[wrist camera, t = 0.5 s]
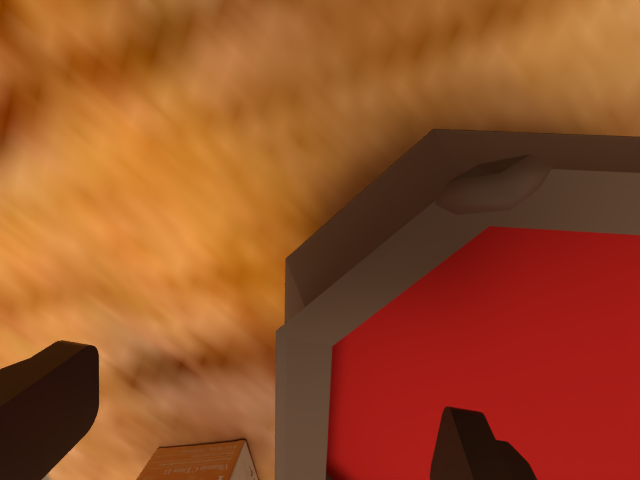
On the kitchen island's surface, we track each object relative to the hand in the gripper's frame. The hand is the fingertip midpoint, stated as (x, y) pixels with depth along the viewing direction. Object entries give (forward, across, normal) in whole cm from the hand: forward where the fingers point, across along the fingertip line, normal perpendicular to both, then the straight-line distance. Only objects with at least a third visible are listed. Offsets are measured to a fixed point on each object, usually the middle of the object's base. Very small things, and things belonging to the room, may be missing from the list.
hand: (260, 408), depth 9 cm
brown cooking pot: (+19, -10, +3) cm, 21 cm away
